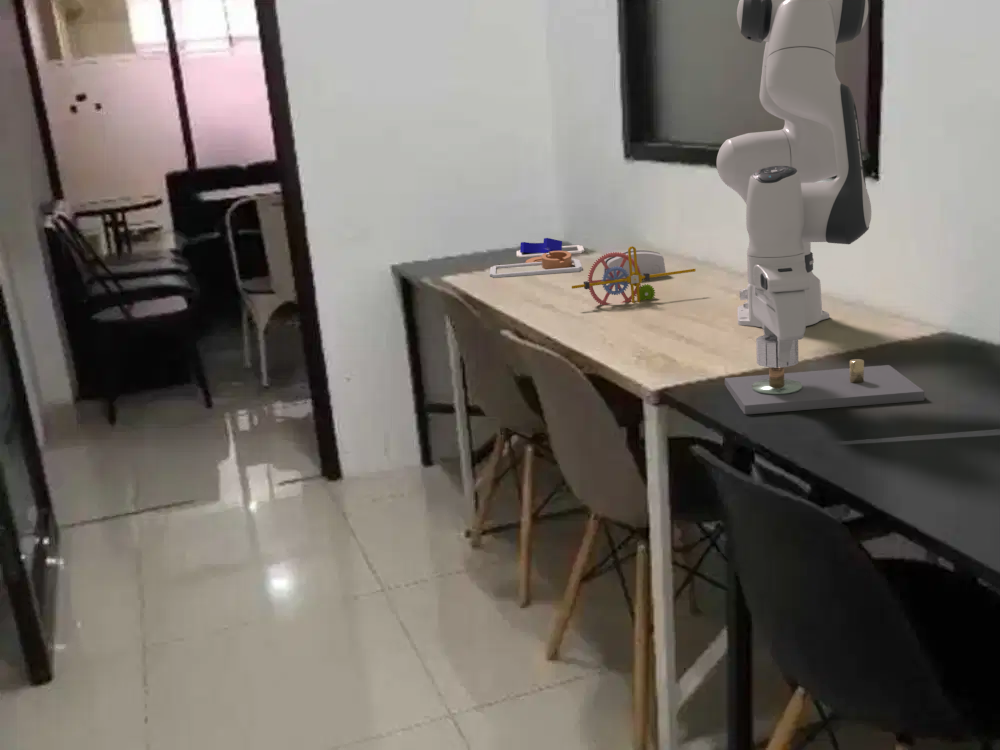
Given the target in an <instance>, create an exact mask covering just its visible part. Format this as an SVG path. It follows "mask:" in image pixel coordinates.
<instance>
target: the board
mask: <svg viewBox="0 0 1000 750" xmlns="http://www.w3.org/2000/svg"><path fill="white" fill-rule="evenodd" d="M766 379H769V374H760V375H759V374H758V375H749V376H747V375H746V376H735V377H733V376H731V377H725V378H724V386H725V387H726V389H727V390H728V392H729V393H730V395H731V396H732V398H733V399H734V401H735V403H736V404H737V405H738V407H739V408H740V410H741V411H742V413H743V414H744V415H756V414H768V413H771V414H772V413H780V412H781V413H782V412H783V413H784V412H794V411H796V412H797V411H806V410H807V411H808V410H818V409H819V410H822V409H832V408H846V407H859V406H871V405H884V404H886V405H887V404H896V403H909V402H921V401H922V402H923V401H925V390H924V389H922V388H921V387H919V386H918V385H916V383H914V382H913V381H911V380H910V379H909V378H908V377H906V376H904V374H902V373H901V372H899V371H898V370H897V369H895V368H894V367H892V366H891V365H890V364H885V365H872V366H864V382H863V383H851V382H850V367H849V368H833V369H832V368H831V369H823V370H821V369H820V370H808V371H798V372H786V373H785V372H784V379H790V380H795V381H798V382H800V383H801V384H802V389H801V390H800V391H798V392H796V393H792V394H785V395H767V394H761V393H757V392H755V391H753V390H752V384H753V383H755V382H757V381H761V380H766Z"/></svg>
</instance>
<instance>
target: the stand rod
mask: <svg viewBox="0 0 1000 750" xmlns="http://www.w3.org/2000/svg"><path fill="white" fill-rule="evenodd" d="M864 367H865V360H864V359H862V358H861V359H860V358H854V359H849V368H850V382H851V383H863V382H864Z"/></svg>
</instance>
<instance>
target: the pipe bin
mask: <svg viewBox="0 0 1000 750" xmlns="http://www.w3.org/2000/svg"><path fill="white" fill-rule="evenodd" d="M571 259H572V264H573V265H574V266H571V267H568V268H558V269H537V270H534V269H533V270H526V271H524V270H523V271H513V272H500V273H497V269H505V268H517V267H531V266H542V262H532V263H526V262H521V263H512V264H511V263H510V264H500V265H499V264H498V265H493V266H490V269H489V277H490V278H493V279H496V278H509V277H524V276H537V275H538V276H539V275H550V274H551V275H552V274H565V273H566V274H567V273H580V271H583V266H582V263H581V260H580V259H577V258H571Z"/></svg>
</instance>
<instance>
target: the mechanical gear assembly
mask: <svg viewBox="0 0 1000 750" xmlns="http://www.w3.org/2000/svg"><path fill="white" fill-rule="evenodd" d="M631 250H633V253H634V260H633V258H632V257H631ZM636 250H637V249H636V247H635V246H629V247H628V248H627V251H628V255H626V254H624V253H622V254H621V251H620V252H619V251H615V252H614V251H613V252H612V251H610V252H608V253H605V254H603V255H601V256H599V258H597V259H596V260H595V261H594V262H593V263H592V265H591V266H590V269H589V270H588V271H589V272H588V275H587V276H588V277H587V279H586V280H587V281H583V284H577V285H571V289H572V290H573V289H580V288H583V289H585V290H588V291H589V293H590V295H591V297H592V299H593V300H594V301H595V302H596V303H597V304H599V305H601V306H604V305H612V304H613V303H610V302H607V301H608V299H609V297H610V295H612V296H613V295H614V296H619V295H621V296H622V297H623V299H624V300H623V301H621V302H620V303H630V302H632V303H633V304H635V299H636V301H637V303H641V301H644V300H653V299H655V296H656V292H655V291H656V290H655V287H653V285H651V284H648V283H644V284H642V283H643V282H642V281H645V282H647V281H650V280H651V279H652V278H659V276H661V277H666V276H673V275H679V274H680V275H681V274H686V273H693V272H696V268H690V269H683V270H682V269H681V270H675V271H669V272H668V271H667V272H666V273H660V274H653V275H649V273H643V274H644V276H642V275H640V274H641V272H640V271H641V270H639V269H640V268H638V267H639V266H637V265H638V264H637V256H636ZM610 257H622V258H623V261H622V263H621V265H620V267H618V266H616V267H615V266H614V268H613V267H612V268H609V267H608V266H607V264H606V262H605V260H606V259H607V258H610ZM626 260H628V261H629V271H630V275H629V274H627V273H628V272H627V271H626V270H624V268H623V266H624V264H625V262H626ZM600 264H602V265H603V268H604V267H605V269H606V270H607V271H606V273H604V272H603V273H604V274H605V275H603V274H602V277H601V278H602V279H596V280H595V279H594V280H593V276H594V273H595V271H596V269H597V267H598V266H599V265H600ZM632 265H633V266H634V268H635V273H634V272H632ZM622 268H623V269H622ZM617 270H618V271H617ZM612 271H614V275H613V273H612ZM620 272H623V274H621V275H620V276H619V274H620ZM608 274H609V275H610V276H608ZM628 275H629V276H628ZM603 276H604V277H603ZM618 276H619V277H618ZM624 276H625V278H622V277H624ZM606 278H607V279H606ZM601 285H602V288H603V290H605V292H606V294H605V296H604V297H603V300H602V299H601V298H600V297H599V296H598V295H597V293H596V292H595V289H594V286H601ZM621 285H622V286H623V287H622V286H621ZM629 285H630V292H631V293H630V296H629V297H628V296H627V294H626V293H625V291H627V290H626V289H628V287H629ZM613 289H614V290H613Z"/></svg>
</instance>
